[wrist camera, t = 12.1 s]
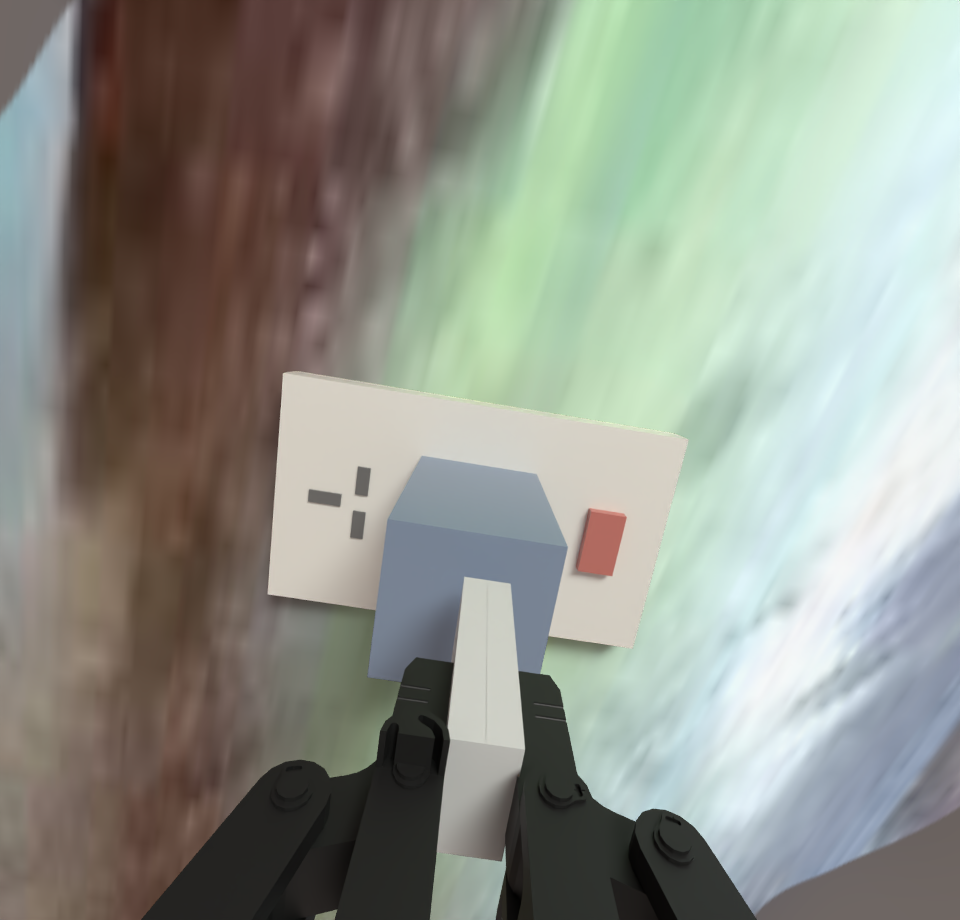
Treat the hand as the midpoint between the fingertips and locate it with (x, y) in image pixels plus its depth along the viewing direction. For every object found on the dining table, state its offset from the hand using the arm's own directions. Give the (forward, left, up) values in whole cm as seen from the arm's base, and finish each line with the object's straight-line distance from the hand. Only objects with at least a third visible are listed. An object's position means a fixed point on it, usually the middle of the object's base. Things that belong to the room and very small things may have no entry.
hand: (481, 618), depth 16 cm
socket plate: (0, +1, -14) cm, 14 cm away
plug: (0, +1, -14) cm, 14 cm away
